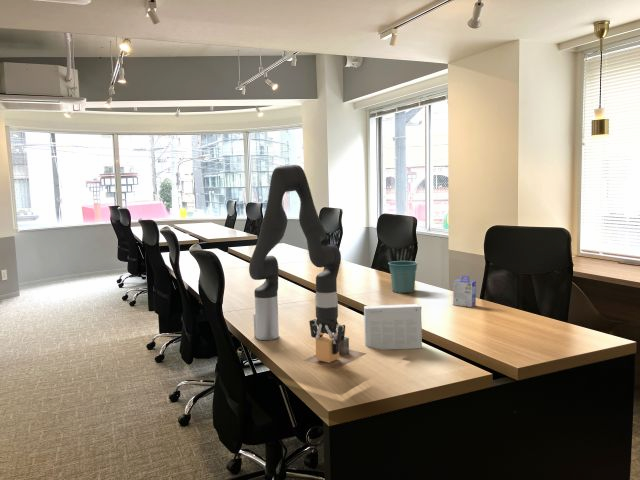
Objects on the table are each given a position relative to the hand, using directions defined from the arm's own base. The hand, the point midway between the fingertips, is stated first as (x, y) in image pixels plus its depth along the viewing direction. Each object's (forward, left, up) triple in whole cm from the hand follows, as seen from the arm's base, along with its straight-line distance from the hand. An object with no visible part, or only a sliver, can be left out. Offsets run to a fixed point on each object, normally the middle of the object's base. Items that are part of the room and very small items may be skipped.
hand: (327, 351), depth 173 cm
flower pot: (-35, +115, -5) cm, 121 cm away
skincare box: (+9, +28, -5) cm, 30 cm away
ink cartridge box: (+6, +103, -5) cm, 104 cm away
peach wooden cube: (0, 0, -2) cm, 2 cm away
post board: (0, +4, -5) cm, 6 cm away
